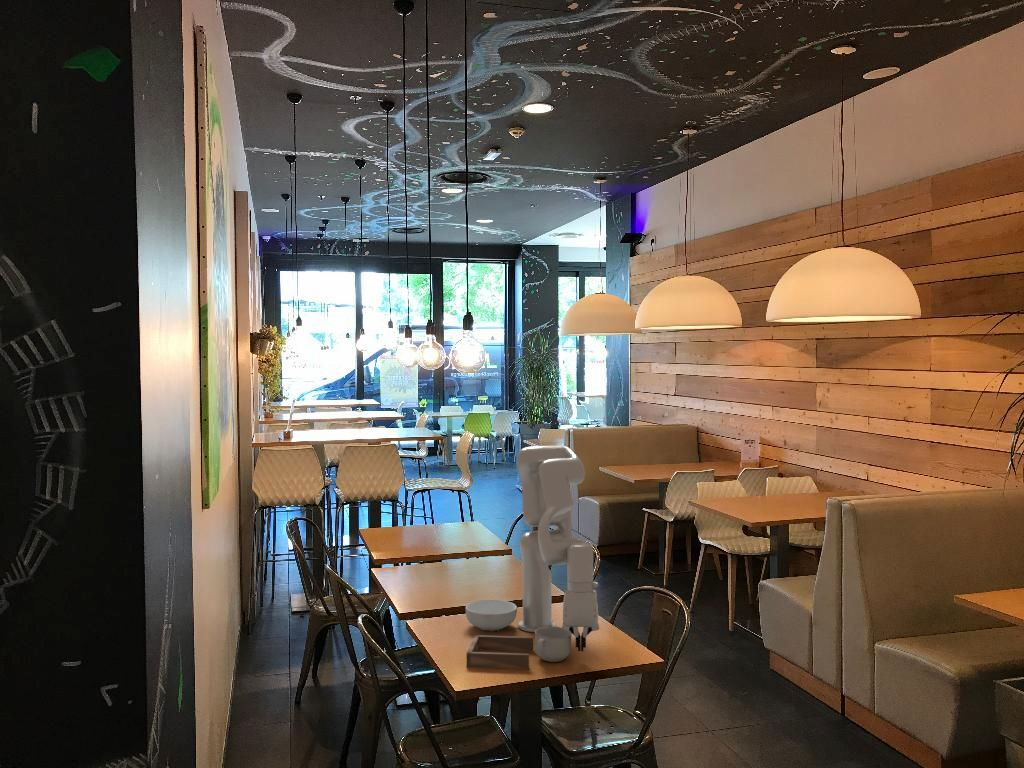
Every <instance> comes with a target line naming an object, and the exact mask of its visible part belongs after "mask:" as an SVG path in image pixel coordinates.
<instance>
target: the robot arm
mask: <svg viewBox="0 0 1024 768" xmlns="http://www.w3.org/2000/svg"><path fill="white" fill-rule="evenodd" d="M516 468H517V471H518V475H519V478H520V481H521V491H522V512H523V513H522V515H523V521H524V523H525V524H526V525H527V526H528V527H533V528H534V527H538V528H537V530H531V531H527V532H525V533H524V534H522V535H521V537H520V539H519V551H520V558H521V565H522V566H521V567H522V620H520V621H518V623H517V627H518V628H519V629H520V630H522V631H525V632H530V633H535V630H536V629H538V628H542V627H557V622H555V621H554V620H553V619H552V616H553V615H552V573H551V569H550V568H549V567H548V566H562V565H566V580H567V581H566V582H567V584H566V585H567V587H566V589H565V590H564V595H563V601H562V603H563V604H562V606H563V607H562V621H563V622H562V625H561V628H562V629H564V630H568V631H570V632H571V633H572V635H573V636H574V638H575V648H577V652H584V649H586V648H587V636H588V635H590V633H591V632H594V631H595V632H596V631H599V630H600V625H599V606H598V605H599V602H598V595H597V591H596V590H595V589H596V588H599V582H596V581H594V548H593V546H592V544H590V543H587V541H585V540H584V539H583V538H581V537H573V533H572V532H573V530H572V526H573V525H572V510H571V509H573V507H574V500H573V495H572V490H571V487H570V485H573V486H574V485H580V484H582V483H583V482H584V481H585V477H586V471H585V467H584V464H583V461H582V460H581V459H580V458H579V456H578V455H577V454H576V453H575V452H574V451H573V450H572V449H571V448H570V447H568V446H566V445H534V446H533V445H532V446H527V447H523V448H521V449H520V450H519V451H518V453H517V456H516ZM550 527H554V529H550ZM579 628H583V629H582V633H580V631H579Z"/></svg>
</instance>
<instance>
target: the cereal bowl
mask: <svg viewBox="0 0 1024 768" xmlns="http://www.w3.org/2000/svg"><path fill="white" fill-rule="evenodd" d="M517 612H518V607H517V605H516V604H515V603H513V602H510V601H508V600H503V599H502V600H501V599H483V600H475V601H472V602H469V603H468V604H467V605H466V606H465V616H466V619H467V621H468V622H469V624H471V625H472V626H474V627H475V628H479V630H481V629H483V630H482V631H485V630H497V631H501V630H503V629H504V628H506V627H508V626H510V625H511V624H512V623H514V621H515V620H516V617H517ZM500 629H501V630H500Z"/></svg>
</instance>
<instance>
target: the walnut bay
mask: <svg viewBox="0 0 1024 768" xmlns="http://www.w3.org/2000/svg"><path fill="white" fill-rule="evenodd" d="M479 649H483V650H482V651H480V650H479ZM501 650H504V651H505V650H507V651H506V652H488V651H501ZM486 651H487V652H486ZM508 652H509V653H508ZM513 652H514V653H513ZM515 652H534V637H533V636H517V635H516V636H514V635H512V636H511V635H508V636H507V635H504V636H503V635H481V634H480V635H479V634H478V635H477V634H475V635H474V637H473V639H472V641H471V643H470V645H469V648H468V649H467V651H466V668H483V669H504V670H505V669H507V670H509V669H511V670H530V654H529V653H515Z"/></svg>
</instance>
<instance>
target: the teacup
mask: <svg viewBox="0 0 1024 768" xmlns="http://www.w3.org/2000/svg"><path fill="white" fill-rule="evenodd" d="M572 635H573V634H572V633H571V632H570V631H568V630H564V629H562V626H556V627H542V628H538V629H536V630H535V632H534V649H535V652H536V655H538V657H540V658H541V660H543V661H546V662H552V663H554V662H555V663H557V662H558V663H559V662H561V661H563V660H564V659H566V658H567V657H569V655H570V653H571V650H572V649H571V648H572Z"/></svg>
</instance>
